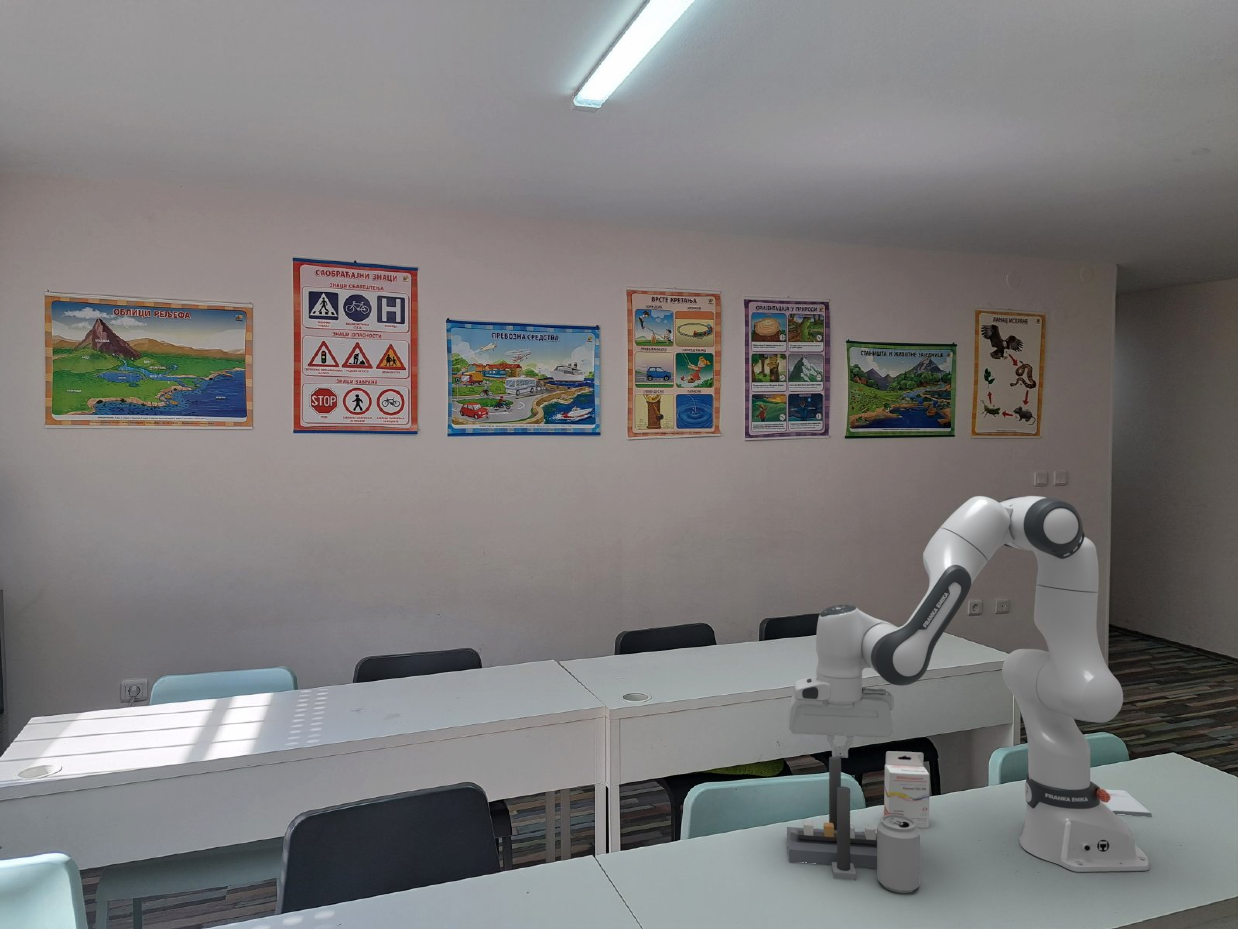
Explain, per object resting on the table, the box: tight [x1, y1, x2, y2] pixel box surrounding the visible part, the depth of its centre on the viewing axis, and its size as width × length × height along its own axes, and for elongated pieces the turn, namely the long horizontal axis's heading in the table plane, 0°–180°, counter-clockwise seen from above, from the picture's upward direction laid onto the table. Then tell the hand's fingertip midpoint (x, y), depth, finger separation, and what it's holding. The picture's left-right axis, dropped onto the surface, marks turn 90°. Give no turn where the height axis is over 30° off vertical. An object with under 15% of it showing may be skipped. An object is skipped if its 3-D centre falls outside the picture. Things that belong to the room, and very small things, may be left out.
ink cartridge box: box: [883, 750, 931, 829], centre depth 177 cm, size 9×5×15 cm, turn 84°
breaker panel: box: [786, 826, 877, 870], centre depth 163 cm, size 20×10×4 cm, turn 81°
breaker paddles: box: [798, 820, 877, 844], centre depth 163 cm, size 16×2×3 cm, turn 81°
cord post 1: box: [828, 756, 842, 830], centre depth 171 cm, size 4×4×16 cm
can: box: [876, 814, 921, 894], centre depth 151 cm, size 8×8×12 cm
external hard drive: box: [1100, 788, 1153, 818], centre depth 187 cm, size 2×8×12 cm
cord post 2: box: [831, 785, 857, 881], centre depth 155 cm, size 4×4×16 cm
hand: (839, 756), depth 163 cm, fingers closed
